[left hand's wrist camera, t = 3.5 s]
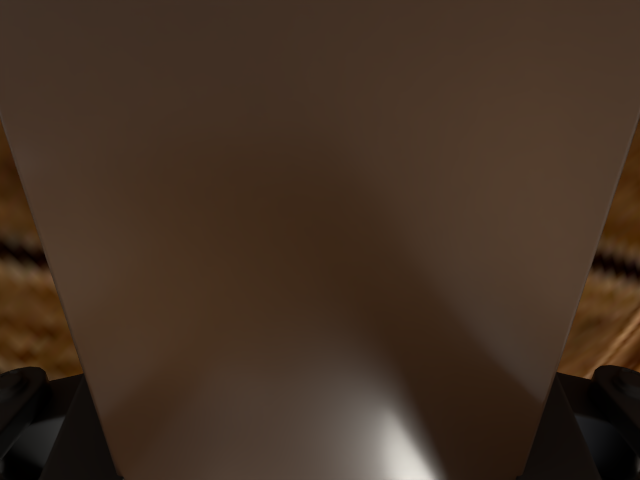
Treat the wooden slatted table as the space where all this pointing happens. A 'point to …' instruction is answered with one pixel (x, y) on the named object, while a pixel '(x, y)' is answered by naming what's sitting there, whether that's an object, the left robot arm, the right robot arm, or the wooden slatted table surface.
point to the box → (319, 220)
